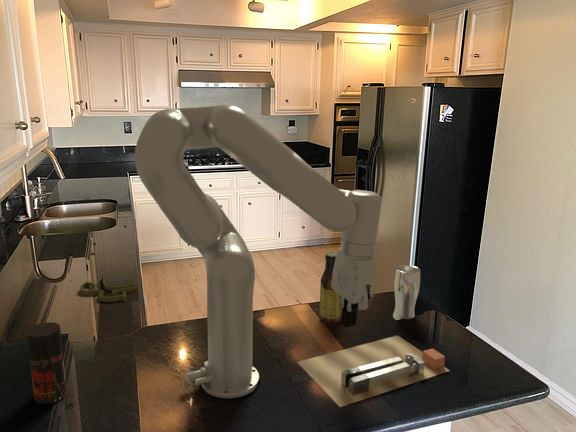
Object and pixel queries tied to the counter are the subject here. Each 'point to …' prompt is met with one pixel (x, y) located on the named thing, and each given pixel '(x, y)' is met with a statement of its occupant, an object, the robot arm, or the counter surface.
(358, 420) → the counter surface
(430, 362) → the tab
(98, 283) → the cookie cutter
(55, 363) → the deodorant
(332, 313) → the sauce bottle
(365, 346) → the board
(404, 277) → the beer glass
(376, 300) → the counter surface
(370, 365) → the tong jaw
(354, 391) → the base
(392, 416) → the counter surface
